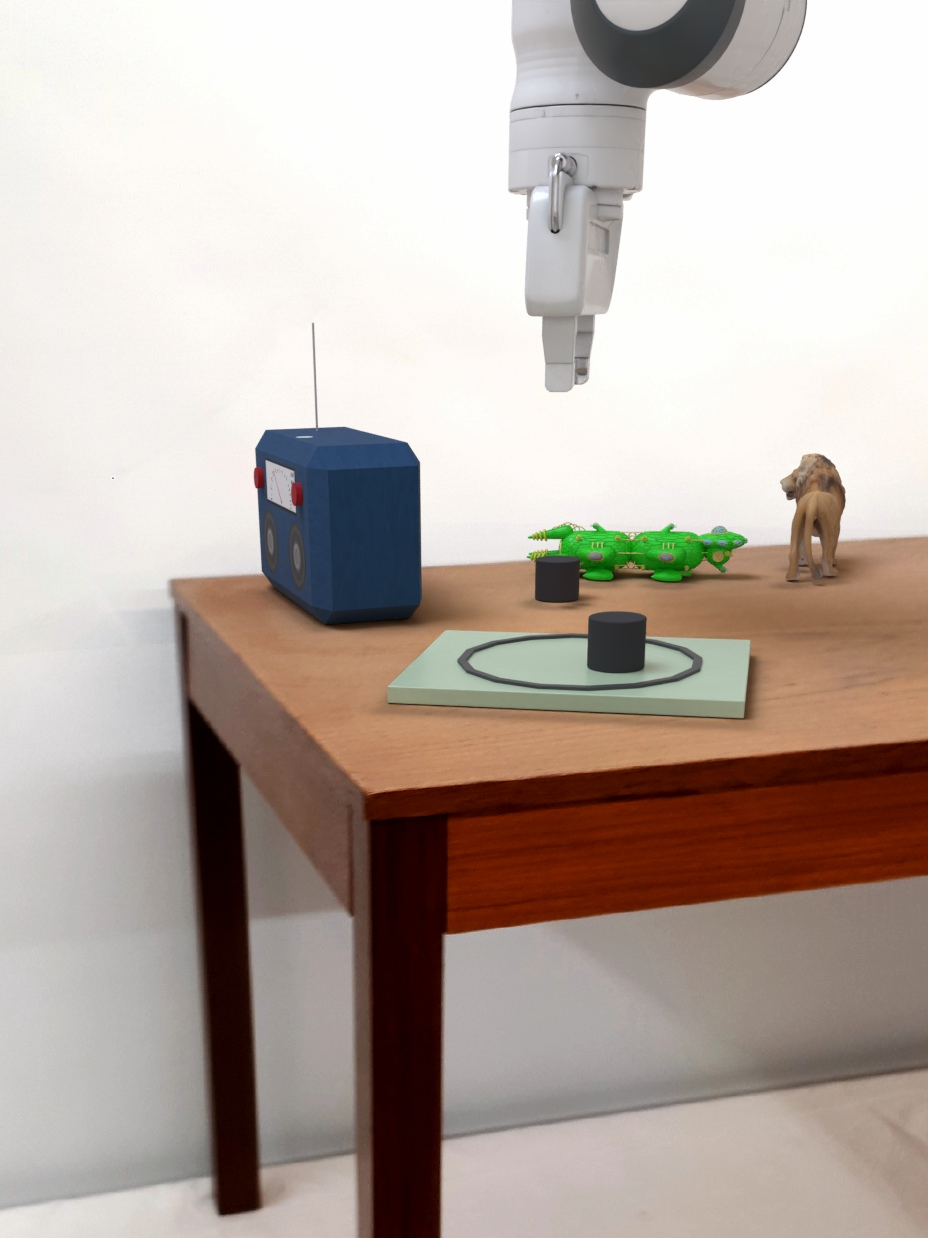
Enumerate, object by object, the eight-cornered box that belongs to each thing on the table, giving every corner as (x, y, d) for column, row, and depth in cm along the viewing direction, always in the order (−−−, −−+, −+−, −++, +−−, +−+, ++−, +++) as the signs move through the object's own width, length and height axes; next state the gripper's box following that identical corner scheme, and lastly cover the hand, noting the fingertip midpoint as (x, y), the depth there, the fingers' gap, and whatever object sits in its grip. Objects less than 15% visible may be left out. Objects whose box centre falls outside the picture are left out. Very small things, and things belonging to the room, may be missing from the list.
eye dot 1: (581, 594, 115) (582, 555, 114) (576, 602, 112) (577, 562, 111) (538, 593, 116) (539, 555, 114) (531, 601, 113) (532, 561, 111)
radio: (250, 584, 121) (235, 323, 114) (352, 576, 124) (344, 321, 116) (314, 632, 103) (301, 325, 95) (432, 622, 106) (429, 323, 98)
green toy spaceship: (746, 584, 118) (750, 529, 116) (523, 580, 121) (523, 527, 119) (743, 570, 124) (747, 518, 122) (531, 567, 127) (532, 516, 125)
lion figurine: (773, 557, 131) (781, 451, 127) (834, 557, 130) (844, 451, 126) (786, 585, 117) (795, 468, 114) (855, 586, 116) (866, 468, 113)
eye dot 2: (646, 661, 89) (649, 611, 87) (641, 674, 86) (644, 623, 84) (590, 659, 89) (592, 610, 88) (583, 672, 86) (585, 621, 85)
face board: (750, 655, 94) (751, 636, 94) (743, 718, 80) (745, 697, 79) (445, 644, 99) (445, 627, 98) (387, 703, 84) (386, 682, 84)
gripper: (610, 147, 86) (599, 397, 91) (635, 174, 104) (625, 381, 110) (503, 150, 87) (498, 396, 93) (547, 176, 106) (541, 380, 111)
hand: (567, 388), depth 101 cm, fingers open, 8 cm apart
